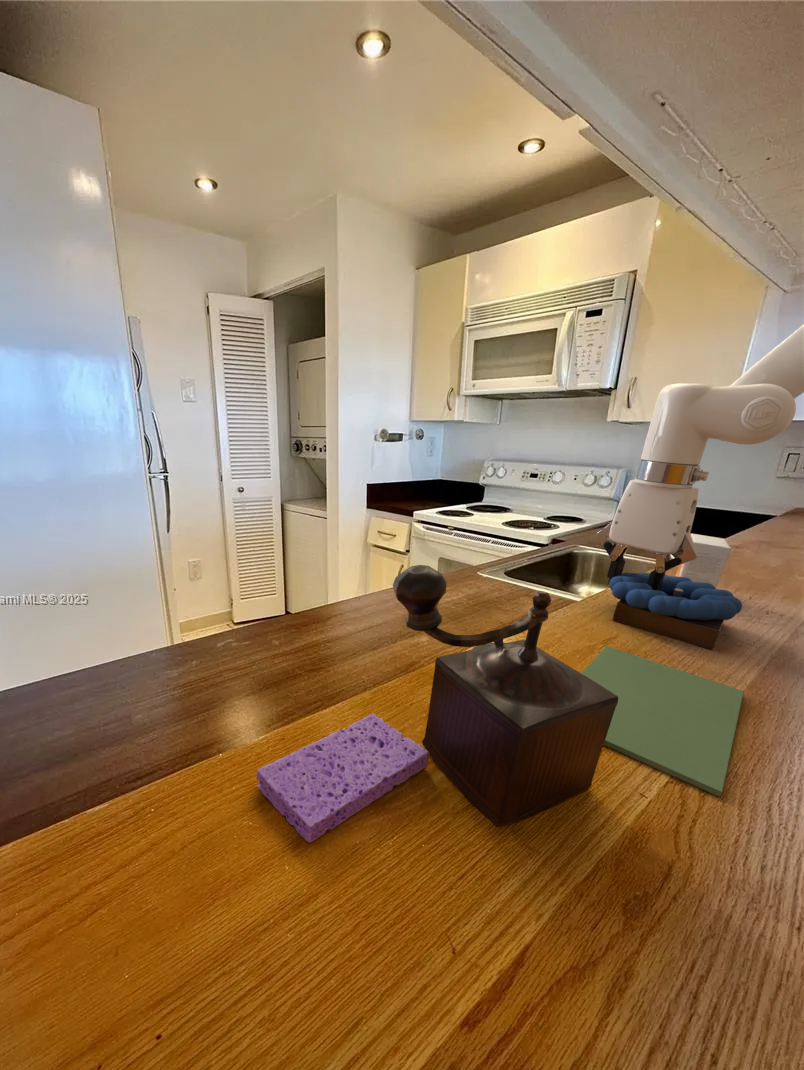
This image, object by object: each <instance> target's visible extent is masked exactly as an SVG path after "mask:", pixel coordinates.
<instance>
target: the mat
mask: <svg viewBox="0 0 804 1070" xmlns="http://www.w3.org/2000/svg"><path fill="white" fill-rule="evenodd" d="M580 673H581V674H583V675H585V676H586V677H588V678H590V679H591V680H593V681H594V682H596V683H598V684H599V685H601V686H602V687H604V688H606V689H607V690H609V691H610V692H612V693H613V694H615V695H617V696H618V703H617V706H616V708H615V711H614V714H613V717H612V720H611V723H610V727H609V730H608V733H607V736H606V739H605V742H604V745H603V746H604V747H608V748H609V749H612V750H614V751H616V752H618V753H621V754H623V755H625V756H627V757H629V758H632V759H634V760H636V761H638V762H640V763H643V764H645V765H647V766H650V767H652V768H655V769H656V770H658V771H660V772H662V773H665V774H667V775H670V776H672V777H674V778H676V779H678V780H681V781H683V782H685V783H687V784H690V785H692V786H694V787H696V788H698V789H700V790H703V791H705V792H707V793H709V794H712V795H714V796H716V797H718V798H721V796H722V794H723V791H724V786H725V782H726V776H727V772H728V768H729V762H730V758H731V753H732V749H733V744H734V739H735V735H736V730H737V725H738V721H739V715H740V712H741V706H742V703H743V702H742V701H743V697H744V692H745V691H744V690H741V689H738V688H736V687H734V686H730V685H726V684H723V683H721V682H717V681H714V680H711V679H708V678H705V677H701V676H699V675H696V674H693V673H690V672H688V671H687V672H686V671H684V670H680V669H678V668H675V667H672V666H669V665H665V664H663V663H660V662H656V661H653V660H650V659H648V658H645V657H641V656H640V655H636V654H632V653H630V652H627V651H623V650H621V649H617V648H614V647H611V646H608V645H605V646H604V648H603V649H602V650H601V651H600V652H599V653H598V654H597V655H596V656H595V658H593V660H592V661H591V662H590V663H589V664H588V665H587V666H586V667H585V669H584V670H582V671H581V672H580Z"/></svg>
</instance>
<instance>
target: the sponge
mask: <svg viewBox="0 0 804 1070" xmlns="http://www.w3.org/2000/svg"><path fill="white" fill-rule="evenodd" d="M428 756H429V752H428V751H427V750H426V748H425V747H423V746H421V745H419V744H418V743H417V742H415V741H414V740H412V739H411V738H409V737H404V736H403V733H402V732H401V731H399V730H397V729H396V728H394V727H391V725H390V724H388V723H387V722H385V720H384V719H382V718H381V717H379V716H377V715H376V714H375V713H370V714H369V715H367V716H366V717H363V718H361V719H359V720H357V721H355V722H354V723H352V724H350V725H348V726H347V729H339V730H337V731H336V732H335V731H334V732H333V733H330V734H328V735H327V736H325V737H323V738H320V739H319V740H316V741H313V742H311V743H310V744H307V745H305V746H303V747H301V748H299V749H298V750H295V751H293V752H291V753H290V754H287V755H285V756H283V757H282V758H278V759H277V760H274V761H272V762H271V763H268V764H264V766H261V767H259V768H258V769H257V770H256V780H257V781H259V783H260V784H256V787H257V788H258V790H259V791H260V792H261V793H262V794H263V795H264V797H265V798H267V799H268V801H269V802H270V803H271V804H272V806H273V807H274V808H275V809H276V810H277V811H278V812H279V814H280V815H281V816H285V818H286V821H287V822H288V823H289V824H290V825H292V826H293V828H294V830H295V831H296V832H297V833H298V834H299V835H300V836H301V837H302V838H303V839H304V840H305V841H306V842H308V843H312V842H314V841H315V840H317V839H319V838H320V837H322V836H323V835H324V834H325V833H326V832H327V831H328V830H333V829H334V828H336V827H338V826H340V825H341V824H342V823H343V822H345V821H346V820H348V819H349V818H351V817H353V815H355V814H356V813H358V812H360V811H361V810H363V809H364V808H366V807H368V806H370V805H371V804H372V803H373V802H374V801H376V800H378V799H380V798H381V797H383V796H384V795H385V794H386V793H389V792H390V791H392V790H393V789H394V786H400V784H402V783H405V782H406V781H407V780H409V778H410V777H412V776H415V775H416V774H418V773H419V772H420V771H422V770H423V769H425V768H427V766H428V761H429V760H428V759H429V758H428Z"/></svg>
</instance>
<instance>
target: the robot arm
mask: <svg viewBox="0 0 804 1070" xmlns="http://www.w3.org/2000/svg"><path fill="white" fill-rule="evenodd" d="M802 394H804V323H803V324H802V325H800V327H798V328H797V329H796V330H794V331H793V332H792V333H791V334H790V335H788V337H786V338H785V339H784V340H782V341H781V342H780V343H779V344H777V345H776V346H775V347H774V348H773V349H771V350H770V351H768V353H766V354H765V355H764V356H763V357H762V358H760V359H759V360H758V361H757V362H755V363H754V364H753V365H752V366H751V367H750V368H748V370H746V371H745V372H744V373H742V375H740V377H738V378H737V379H736V380H734V382H732V383H731V384H730V385H726V386H725V385H723V386H716V385H714V384H708V383H690V382H689V383H686V382H685V383H684V382H683V383H679V382H678V383H670V384H667V385H666V386H664V387H663V388H662V389H661V390H660V391H659V393H658V396H657V398H656V402H655V405H654V408H653V412H652V416H651V420H650V423H649V427H648V430H647V434H646V438H645V441H644V445H643V448H642V452H641V456H640V460H639V462H638V466H637V470H636V474H635V477H634V479H630V480H629V482H628V484H627V485H626V487H625V489H624V491H623V494H622V496H621V498H620V500H619V503H618V505H617V508H616V511H615V513H614V515H613V519H612V521H611V522H610V523H608V524H607V525H606V526H605V527H603V528H602V529H601V530H599V531H598V532H597V533H596V534H595V537H596V539H597V540H598V541H599V542H600V544H601V545H602V546H603V548H604V550H605V551H606V554H607V555H608V559H609V560H610V564H609V568H608V571H607V575H606V578H607V579H608V582H607V585H609V582H610V580H611V579H612V578H613V577H615V576H620V575H621V574H623V571H624V568H625V564H626V559H625V557H624V556H625V555H626V553H627V551H628V550H629V548H630V547H631V548H635V549H638V550H644V551H647V552H652V553H655V567H654V570H652V571H650V572H649V573H650V576H649V579H648V582H647V584H648V585H650V586H651V587H652V589H653V590H657V591H659V590H660V588H661V585H662V582H663V579H664V576H665V575H666V572H667V571H669V570H671V569H673V568H675V567H679V565H680V564H683V563H686V562H689V561H692V560H694V559H696V558H698V556H699V554H698V552H697V550H696V548H695V546H694V544H693V542H692V540H691V538H690V536H689V535H690V534H691V532H692V528H693V523H694V520H695V515H696V511H697V505H698V498H699V487H695V486H693V485H695V484H696V483H697V482H701V481H702V482H706V481H707V480H708V478H709V475H710V472H709V471H708V470H707V471H706V470H703V469H702V468H701V461H702V459H703V455H704V452H705V449H706V446H707V443H708V440H709V439H714V440H719V441H721V442H727V443H733V444H738V445H756V444H761V443H764V442H767V441H770V440H772V439H774V438H776V437H778V436H779V435H781V434H782V433H784V431H785V430H787V428H788V427H789V426H790V425H791V424H792V421H793V420H794V418H795V415H796V411H797V410H796V409H797V404H796V400H795V399H797V398H798V397H799V396H801V395H802ZM678 551H683V552H684V554H683V553H682V554H681V555H678V556H676V557H673V558H672V559H671V555H673V554H676V553H677V552H678Z"/></svg>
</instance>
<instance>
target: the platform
mask: <svg viewBox="0 0 804 1070" xmlns="http://www.w3.org/2000/svg"><path fill="white" fill-rule="evenodd" d="M666 594H667V595H668V596H673V597H682V594H683V590H682V589H678V588H675V589H674V592H673V593H666ZM689 600H691V599H689ZM614 610H615V611H614V613H613V616H612V619H611V620H612V621H613V622H617V623H619V624H620V623H621V624H624V625H627V626H630V627H634V628H637V629H640V630H643V631H647V632H650V633H653V634H657V635H660V636H664V637H666V638H671V639H674V640H677V641H680V642H684V643H687V644H690V645H694V646H697V647H700V648H704V649H707V650H710V651H712V650H714V647H715V644H716V642H717V640H718V636H719V634H720V631H721V629H722V626H723V624H724V622H725V620H716V619H712V620H709V621H704V620H692V619H682V618H678V617H676V616H668V615H657V614H654V613H652V612H651V611H650V610H649V609H647V608H635V607H632V606H630V605H629V604H628V603H627V602H626V600H620V599H619V601H618V602H617V603H616V606H615V609H614Z"/></svg>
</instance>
